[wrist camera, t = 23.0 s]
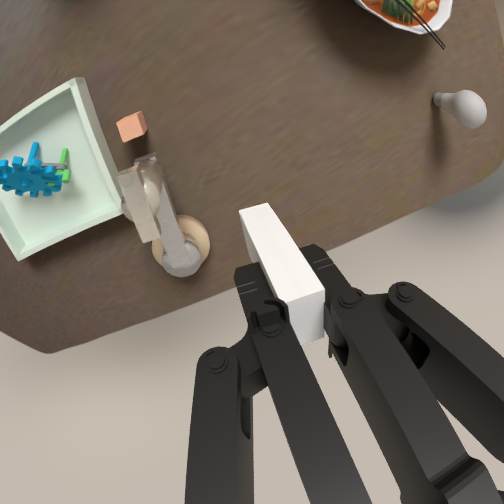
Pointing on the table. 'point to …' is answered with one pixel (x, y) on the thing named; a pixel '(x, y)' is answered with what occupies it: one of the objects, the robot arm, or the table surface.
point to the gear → (34, 174)
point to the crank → (157, 215)
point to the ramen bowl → (411, 14)
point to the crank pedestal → (190, 227)
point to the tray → (49, 151)
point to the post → (132, 126)
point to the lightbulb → (463, 107)
